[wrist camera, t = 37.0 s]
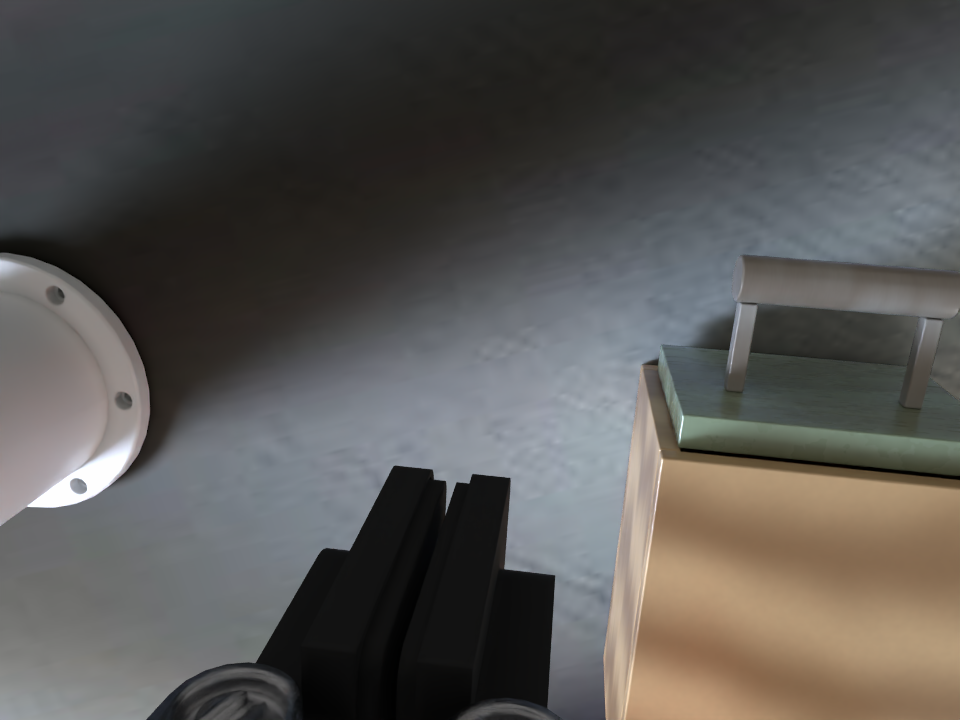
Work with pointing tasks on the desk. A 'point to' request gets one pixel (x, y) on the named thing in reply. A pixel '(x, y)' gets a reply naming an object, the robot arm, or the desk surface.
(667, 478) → the cabinet
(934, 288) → the drawer
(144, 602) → the desk surface
